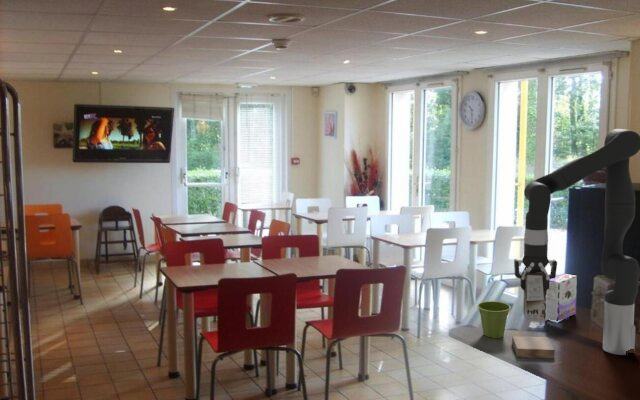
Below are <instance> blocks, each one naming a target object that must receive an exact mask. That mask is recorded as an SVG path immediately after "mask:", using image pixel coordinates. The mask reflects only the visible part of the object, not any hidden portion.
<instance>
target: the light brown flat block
mask: <svg viewBox="0 0 640 400" xmlns="http://www.w3.org/2000/svg"><path fill="white" fill-rule="evenodd" d="M511 345H512V347H514V348H513V350H514V353H515V352H516V353H515V355H516V357H517V358H523V359H525V357H527V359H528V358H529V359H531V358H532V359H555V352H556V350H555V348H554V346H553V344H552V342H551V341H550V339H549V337H547V336H516V335H515V336H514V335H513V336H512V339H511Z"/></svg>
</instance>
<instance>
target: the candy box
mask: <svg viewBox="0 0 640 400" xmlns="http://www.w3.org/2000/svg"><path fill="white" fill-rule="evenodd" d="M577 284H578V276H577V275H573V274H570V273H562V274H559V275H556V277H555V278H552V279H550V283H549V289H547V291H546V302H545V321H547V320H549V319H550V320H556V321H558V320H561V319H564V318H566V317H569V316H572V315H574V314H576V315H577V293H578V292H577V291H578V290H577V289H578V287H577V286H578V285H577Z"/></svg>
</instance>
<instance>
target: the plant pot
mask: <svg viewBox="0 0 640 400" xmlns="http://www.w3.org/2000/svg"><path fill="white" fill-rule="evenodd" d="M476 306H477V309H478V310H479V314H480V315H479V316H480V321H481V328H482V332H483V336H484V335H486V336H488V337H487V338H491V337H493V338H492V339H501V338H502V337H504V335H505V330H506V325H507V319H508V315H509V312H510V310H511V309H512V307H511V305H510V304H508V303H506V302H502V301H496V300H495V301H494V300H491V301H490V300H489V301H487V300H486V301H481V302H479V303H477V305H476ZM486 336H485V337H486Z"/></svg>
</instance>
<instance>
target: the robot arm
mask: <svg viewBox="0 0 640 400" xmlns="http://www.w3.org/2000/svg"><path fill="white" fill-rule="evenodd" d="M639 151H640V134H639V133H637V131H633V130H631V129H625V128H615V129H613V130H611V131H609V132H608V133H607V135H606V136H605V139H604V144H603V146H602V147H600V148H599V149H597V150H595V151H593V152H591V153H588V154H586V155H584V156H582V157H579V158H576V159H574V160H572V161H571V160H570V161H569V162H568V163H566V164H564V165H562V166H561V167H559V168H556V170H553V171H552V172H550V173H548V174H544V175H543V176H540V177H539V178H538V177H537V178H536V179H534V180H532V181H531V182H529V183H528V184H527V185H526V186H525V188H524V190H523V192H524V194H523V195H524V197H525V199H526V200H527V201H528V211H527V212H526V214H525V230H524V235H523V237H524V238H523V243H524V244H523V257H522V259H517V258H515V259H513V266H514V267H513V268H514V276H515V278H517V279H520V280H519V281H520V284H519V285H520V289H521V290H522V291H524V290H525V285H526V280H525V278H526V273H529V272H530V271H531V272H535V271H536V272H540V271H542V272H543V273H545V274H546V275H547V276H546V291H547V289H549V283H550V279H552V278H555V277H556V276H557V268H558V261H557V260H556V259H549V258H548V249H549V248H548V245H549V234H548V233H549V232H548V222H549V221H548V216H549V211H550V206H551V200H552V196H551V195H552V194H554V193H556V192H562V191H564V190H567V189H568V188H570V187H572V186H573V185H575V184H577V183H579V182H581V181H583V180H584V179H585V178H588V177H589V176H591V175H592V174H594V173H597V172H599V171H601V170H602V169H605V168H606V169H605V172H606V173H605V197H604V232H603V234H604V236H603V246H602V252H601V253H602V254H601V258H600V259H601V261H600V270H601V273H602V275H603V277H605V278H606V279H608V280H611V281H614V289H611V290H607V291H605V293H604V305H603V306H604V308H603V311H604V313H603V332H602V333H603V334H602V335H603V337H602V349H603V351H604V352H607V353H609V354H612V355H618V356H626V351H628V350H630V349H634V350H635V348H636V347H635V346H636V345H635V344H636V326H635V324H634V321H635V300H636V297H637V295H638V294H639V293H638V291H639V284H640V265H639V264H640V263H639V262H638V260H637V259H635V258H634V257H631V256H628V255H625V254H624V252H623V246H624V245H623V244H624V238H625V236H626V234H627V232H628V230H629V229H630V227H631V226H632V224H633V222H634V219H635V217H636V194H635V189H634V185H633V182H632V178H631V174H630V158H632V157H634V156H635V155H637V154H638V153H639ZM522 264H523V266H524V268H523V270H522V272H521V273H520V267H521V266H522ZM548 265H549V266H550V274H549V273H548V272H547V270H546V267H547V266H548Z"/></svg>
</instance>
